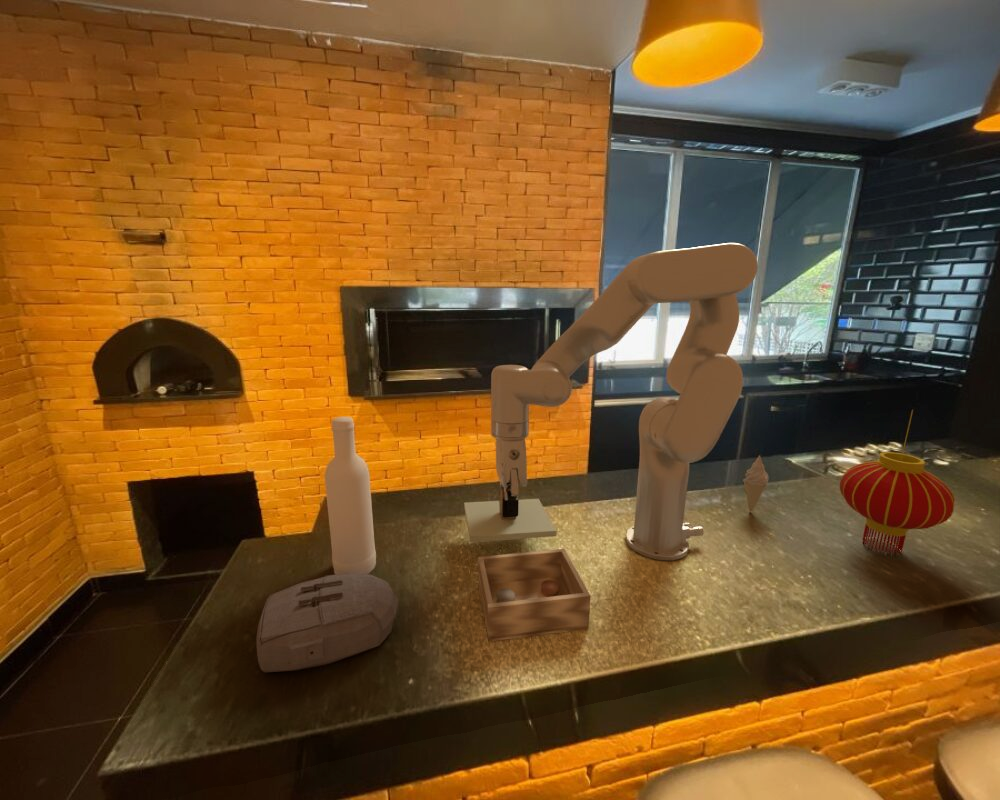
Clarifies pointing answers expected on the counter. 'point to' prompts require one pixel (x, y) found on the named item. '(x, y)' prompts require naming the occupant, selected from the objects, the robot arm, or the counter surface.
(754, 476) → the ice cream cone
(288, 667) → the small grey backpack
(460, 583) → the counter surface
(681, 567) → the counter surface
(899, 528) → the lantern
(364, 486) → the bottle
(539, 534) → the lid
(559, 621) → the storage box
